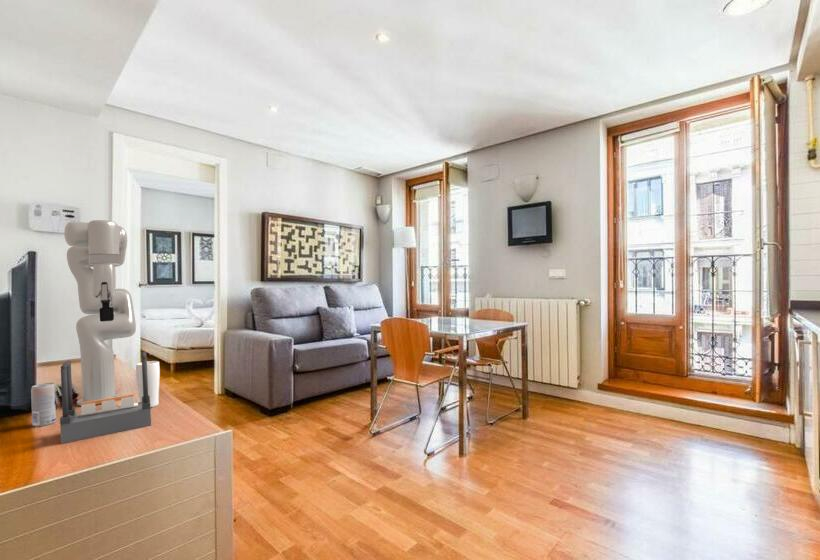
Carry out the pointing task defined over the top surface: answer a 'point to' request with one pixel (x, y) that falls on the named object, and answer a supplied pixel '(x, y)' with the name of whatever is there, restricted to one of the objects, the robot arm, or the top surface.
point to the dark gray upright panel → (66, 394)
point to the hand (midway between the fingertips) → (107, 320)
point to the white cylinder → (149, 381)
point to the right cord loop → (145, 383)
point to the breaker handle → (107, 405)
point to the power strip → (105, 423)
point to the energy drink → (43, 404)
